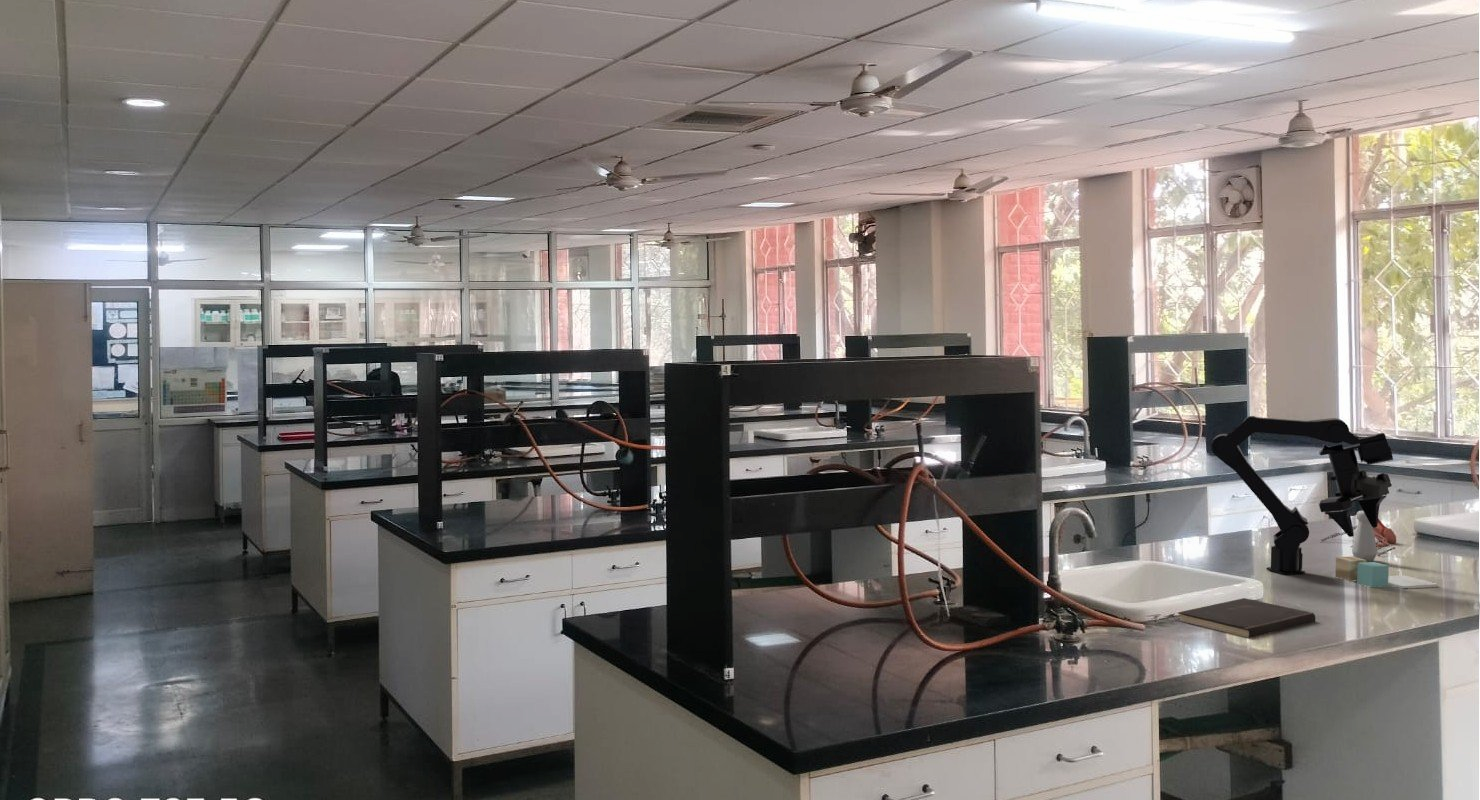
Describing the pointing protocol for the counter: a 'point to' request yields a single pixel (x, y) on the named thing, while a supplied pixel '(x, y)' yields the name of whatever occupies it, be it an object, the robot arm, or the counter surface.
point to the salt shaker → (1364, 539)
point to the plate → (1409, 582)
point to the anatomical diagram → (1377, 536)
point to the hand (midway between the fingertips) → (1363, 531)
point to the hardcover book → (1247, 617)
